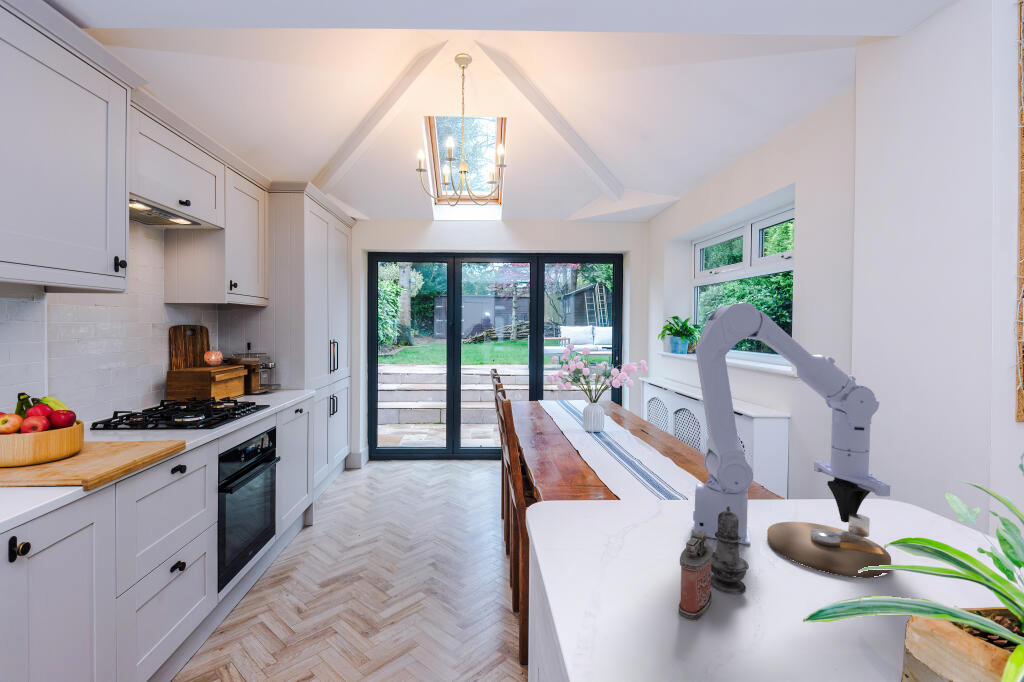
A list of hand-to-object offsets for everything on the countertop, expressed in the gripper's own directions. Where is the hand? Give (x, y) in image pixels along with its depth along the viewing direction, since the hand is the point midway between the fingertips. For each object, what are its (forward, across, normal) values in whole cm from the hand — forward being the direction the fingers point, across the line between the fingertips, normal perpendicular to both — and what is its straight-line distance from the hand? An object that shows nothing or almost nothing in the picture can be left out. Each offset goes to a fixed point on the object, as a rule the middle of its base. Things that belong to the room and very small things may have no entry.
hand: (847, 521), depth 84 cm
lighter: (+4, -16, +38) cm, 42 cm away
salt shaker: (+4, -12, +31) cm, 33 cm away
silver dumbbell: (+2, -3, +4) cm, 5 cm away
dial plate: (+4, -3, +7) cm, 8 cm away
